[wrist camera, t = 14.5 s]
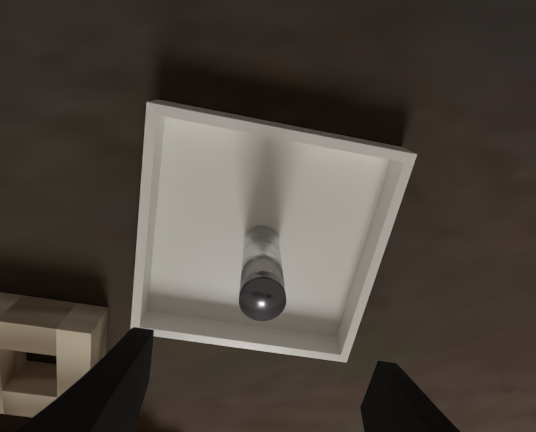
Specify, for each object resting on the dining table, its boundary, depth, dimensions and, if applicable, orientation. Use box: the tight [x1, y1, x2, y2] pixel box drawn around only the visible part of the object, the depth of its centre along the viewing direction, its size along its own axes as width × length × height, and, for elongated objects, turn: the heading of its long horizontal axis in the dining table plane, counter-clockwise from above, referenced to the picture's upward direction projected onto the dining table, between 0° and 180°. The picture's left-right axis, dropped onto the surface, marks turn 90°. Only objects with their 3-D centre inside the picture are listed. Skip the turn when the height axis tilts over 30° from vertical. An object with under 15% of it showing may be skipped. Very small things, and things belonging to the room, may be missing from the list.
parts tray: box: [131, 99, 417, 362], centre depth 20 cm, size 13×13×2 cm
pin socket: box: [0, 292, 108, 417], centre depth 22 cm, size 7×7×2 cm
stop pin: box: [239, 225, 286, 321], centre depth 18 cm, size 2×2×6 cm
